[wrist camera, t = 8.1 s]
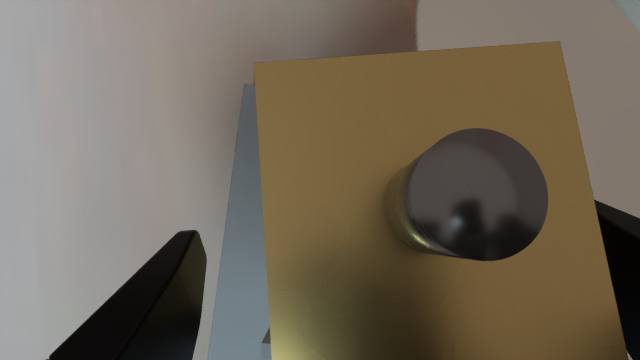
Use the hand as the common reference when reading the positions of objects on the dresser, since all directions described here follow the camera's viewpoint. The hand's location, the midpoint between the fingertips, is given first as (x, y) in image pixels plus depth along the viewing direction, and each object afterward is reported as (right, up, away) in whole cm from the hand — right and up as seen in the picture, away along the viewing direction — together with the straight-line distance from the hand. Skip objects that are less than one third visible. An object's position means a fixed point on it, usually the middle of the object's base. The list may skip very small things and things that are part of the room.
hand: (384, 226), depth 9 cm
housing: (0, -1, +8) cm, 9 cm away
